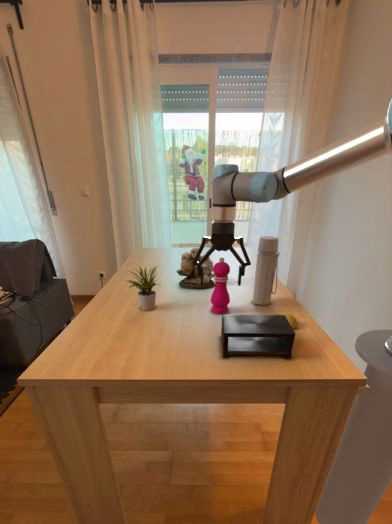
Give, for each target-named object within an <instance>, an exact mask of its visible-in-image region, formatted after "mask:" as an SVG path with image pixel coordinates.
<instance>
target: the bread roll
mask: <svg viewBox="0 0 392 524" xmlns="http://www.w3.org/2000/svg"><path fill="white" fill-rule="evenodd" d="M274 315H285V316H286V318H287V320H288V322H289V323H290V325H291V327H292V328H293V329H295V328H296V327H297V325H298V319H297V318H296V316H294V315H293V314H291V313H281V314H279V313H278V314H277V313H276V314H274Z"/></svg>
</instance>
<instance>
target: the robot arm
mask: <svg viewBox="0 0 392 524" xmlns="http://www.w3.org/2000/svg"><path fill="white" fill-rule="evenodd" d="M387 155H391V156H392V98H391V100H390V102H389V105H388V108H387V114H386V116H385V117H384V118H382V119H380V120H378V121H376V122H374V123H373V124H370V125H368V126H366V127H364V128H362V129H359V130H358V131H355V132H353V133H351V134H349V135H347V136H344V137H343V138H341V139H339V140H337V141H335V142H333V143H331V144H329V145H327V146H325V147H322V148H320V149H318V150H317V151H314V152H312V153H310V154H308V155H306V156H304V157H302V158H300V159H297V160H296V161H293V162H291V163H290V164H287V165H285V166H284V167H281V168H278V169H277V170H275V171H245V172H244V171H243V172H242V171H240V170H239V168H240V167H239V165H238V164H236V163H235V164H234V163H226V164H225V163H220V164H216V165H214V167H213V176H212V206H211V219H212V222H211V233H210V236H206V235H202V237H201V243H200V245H199V247H198V251H197V253H196V255H195V257H194V259H193V263H192V264H193V265H196V266H197V267H198V276H201V285H203V265H202V264H203V263H204V262H205V261H206V260H207V258H208V257H209V258H210V256H211V255H212V254H213V253H214V252H215V251H217V252H221V251H222V252H227V251H229V252H230V253H231V254H232V255H233V256H234V258H235V259H236V260H237V261H238V263H239V264H240V265H239V266H238V275H237V286H238V287H241V285H242V277H244V276H245V273H246V267H247V266H251V265H252V262H251V260H250V258H249V255H248V252H247V249H246V246H245V244H244V236H242V235H240V236H238V237H237V236H236V237H235V229H236V222H235V220H236V216H237V215H236V211H237V202H244V203H245V202H248V203H256V204H263V203H264V204H265V203H266V204H267V203H270V202H271V201H277V200H278V201H279V200H281V199H284V198H285V197H287V196H288V195H289V194H292V193H294V192H297V191H299V190H302V189H305V188H306V187H310V186H312V185H314V184H317V183H319V182H322V181H324V180H326V179H329V178H331V177H334V176H336V175H339V174H341V173H344V172H346V171H349V170H351V169H354V168H357V167H360V166H361V165H364V164H366V163H369V162H371V161H374V160H376V159H379V158H381V157H384V156H387ZM209 242H210V244H211V246H210V247H209V249H208V250H207V251H206V252H205V253H204V256H203V255H202V256H203V257H202V256H201V257H202V258H201V260H200V261H199V262H198V258H199V256H200V255H201V254H202V252H203V251H204V248H205V247H206V245H207V244H208V243H209ZM235 243H237V245H239V247H240V249H241V252H242V255H243V258H244V259H245V261H244V260H243V259H242V257H241V256H240V254H239V253H238V251H236V249H235V248H234V247H233V245H234V244H235ZM384 348H385V350H386V352H387V353H388V354H389V355H391V356H392V335H391V336H390V337H389V338H388V339H387V340H386V343H385V345H384Z"/></svg>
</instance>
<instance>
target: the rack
mask: <svg viewBox="0 0 392 524" xmlns="http://www.w3.org/2000/svg"><path fill="white" fill-rule="evenodd" d="M220 329H221V330H220V331H221V333H220V339H221V349H222V358H223V359H227V358H228V355H270V356H271V355H277V356H279V355H281V356H282V355H283V356H285V359H286V360H288V359H289V360H290V359H291V358H292V355H293V349H294V343H295V338H296V332H295V330H294V328H292V327H291V325H290V323H289V322H288V320H287V318H286V316H285V315H281V314H279V315H275V314H221V328H220Z"/></svg>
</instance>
